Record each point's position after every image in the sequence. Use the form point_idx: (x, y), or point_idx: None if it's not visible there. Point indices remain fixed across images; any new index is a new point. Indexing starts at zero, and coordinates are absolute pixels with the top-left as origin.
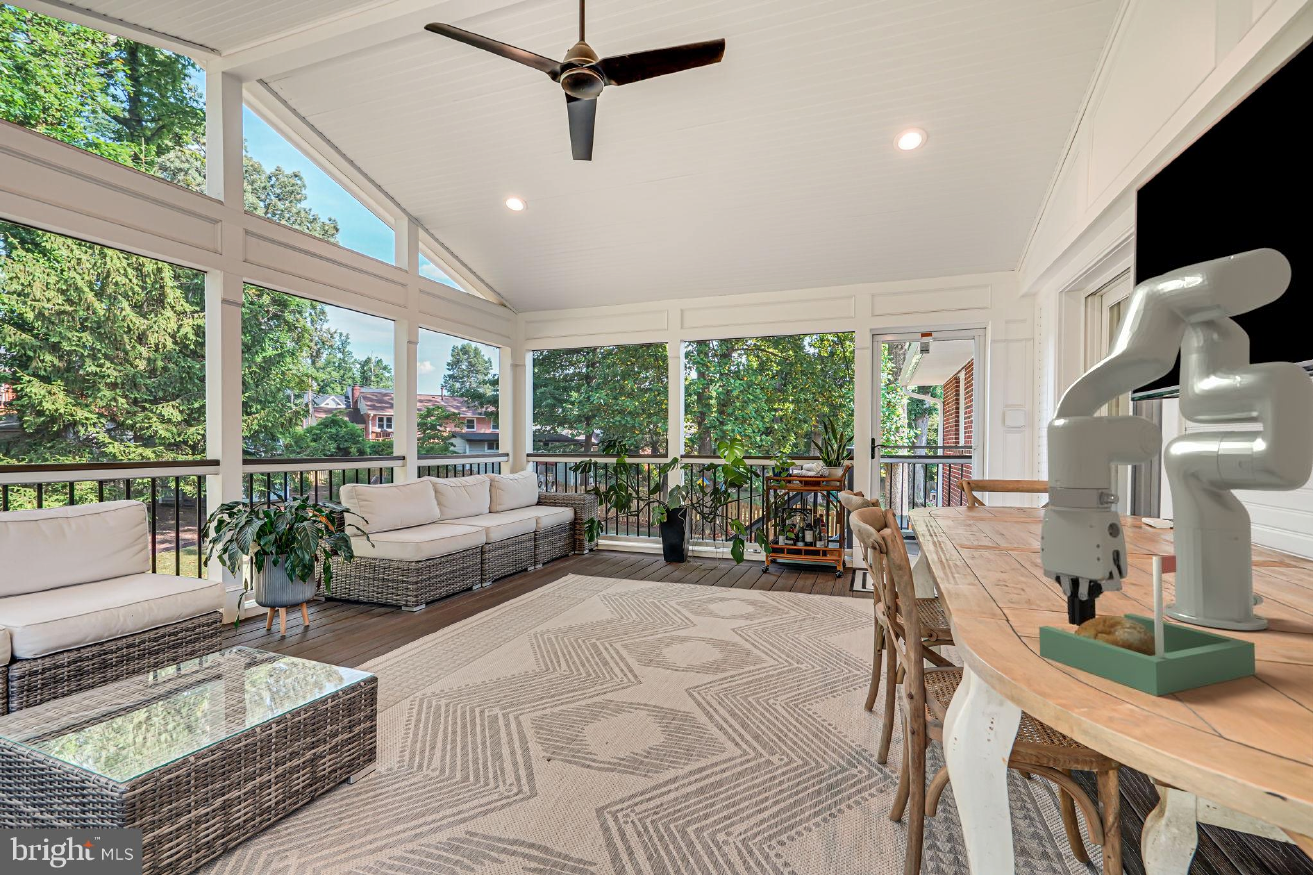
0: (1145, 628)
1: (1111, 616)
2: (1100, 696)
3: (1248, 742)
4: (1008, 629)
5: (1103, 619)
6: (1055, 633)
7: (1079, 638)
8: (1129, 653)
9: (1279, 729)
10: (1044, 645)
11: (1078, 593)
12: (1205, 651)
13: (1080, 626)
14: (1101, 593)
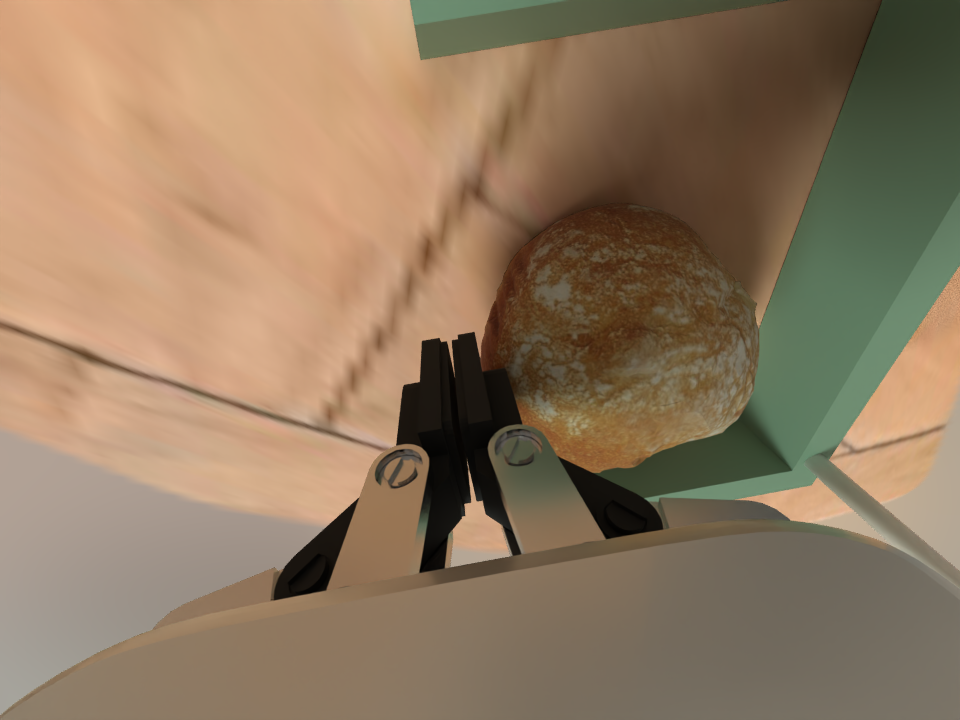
0: (746, 352)
1: (649, 441)
2: None
3: (886, 435)
4: (247, 419)
5: (631, 461)
6: None
7: None
8: (750, 493)
9: (941, 354)
10: None
11: (455, 498)
12: (930, 300)
13: None
14: (590, 477)
